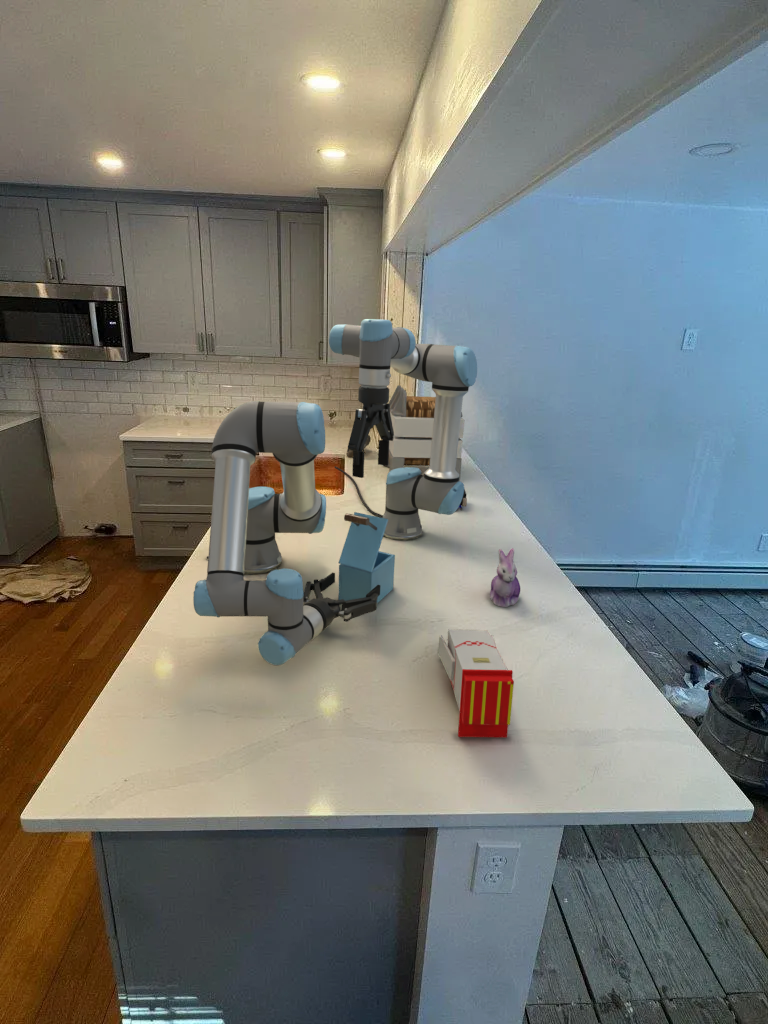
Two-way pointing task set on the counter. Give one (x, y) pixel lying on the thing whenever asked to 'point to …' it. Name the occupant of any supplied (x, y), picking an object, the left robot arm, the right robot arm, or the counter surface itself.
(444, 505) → the right robot arm
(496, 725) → the toy
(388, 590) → the chest
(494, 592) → the figurine
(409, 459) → the white wooden crate
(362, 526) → the lid
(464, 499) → the figurine character
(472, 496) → the counter surface
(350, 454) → the fossil
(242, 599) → the left robot arm
